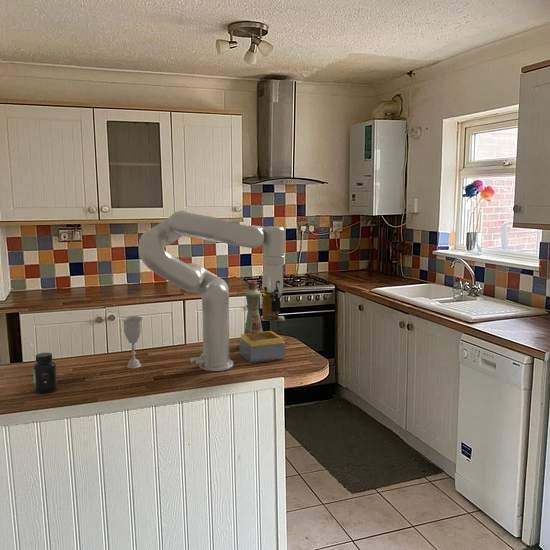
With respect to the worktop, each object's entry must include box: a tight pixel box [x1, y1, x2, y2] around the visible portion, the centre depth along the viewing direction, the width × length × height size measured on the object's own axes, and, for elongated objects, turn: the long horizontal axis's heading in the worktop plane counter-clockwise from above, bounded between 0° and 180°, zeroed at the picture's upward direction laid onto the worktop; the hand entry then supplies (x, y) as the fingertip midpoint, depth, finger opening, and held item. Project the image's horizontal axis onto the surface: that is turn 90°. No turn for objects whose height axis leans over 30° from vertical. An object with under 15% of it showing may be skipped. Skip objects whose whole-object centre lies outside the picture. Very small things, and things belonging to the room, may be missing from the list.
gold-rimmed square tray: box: [238, 330, 287, 364], centre depth 210 cm, size 16×13×8 cm
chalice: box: [121, 315, 143, 369], centre depth 197 cm, size 7×7×18 cm
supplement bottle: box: [32, 352, 58, 395], centre depth 173 cm, size 7×7×12 cm
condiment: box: [260, 287, 286, 322], centre depth 196 cm, size 7×8×12 cm
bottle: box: [243, 279, 264, 334], centre depth 222 cm, size 9×9×28 cm
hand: (272, 308), depth 197 cm, fingers closed on condiment, 6 cm apart
